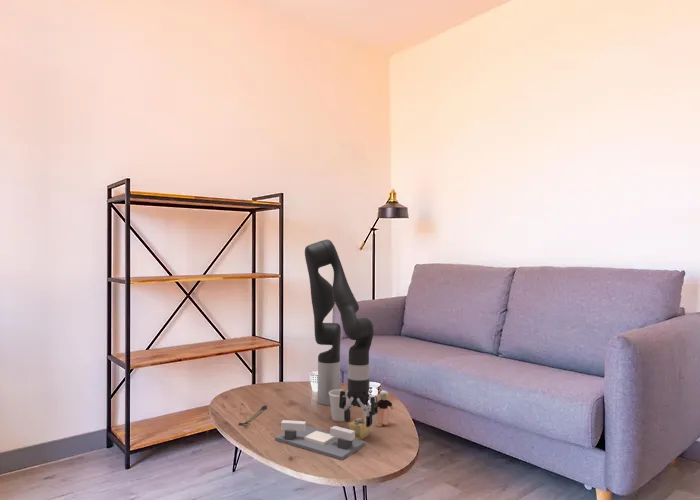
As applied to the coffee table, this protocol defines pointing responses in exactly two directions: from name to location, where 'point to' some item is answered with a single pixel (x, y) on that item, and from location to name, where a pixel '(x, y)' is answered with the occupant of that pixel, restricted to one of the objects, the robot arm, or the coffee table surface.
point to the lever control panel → (320, 439)
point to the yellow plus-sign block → (359, 428)
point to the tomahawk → (254, 416)
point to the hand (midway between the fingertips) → (357, 423)
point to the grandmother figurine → (383, 409)
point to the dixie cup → (336, 405)
